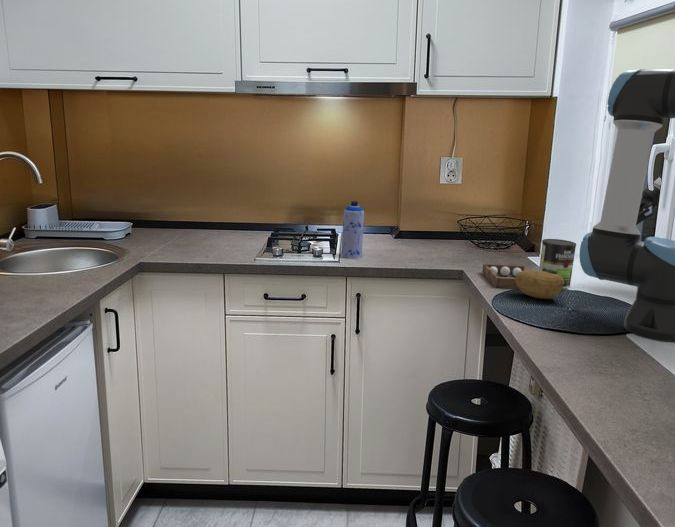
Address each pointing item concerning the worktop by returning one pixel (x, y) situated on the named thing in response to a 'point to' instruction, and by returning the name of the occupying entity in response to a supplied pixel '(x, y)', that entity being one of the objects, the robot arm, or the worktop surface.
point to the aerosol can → (352, 231)
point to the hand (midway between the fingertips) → (599, 243)
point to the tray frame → (501, 281)
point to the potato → (539, 284)
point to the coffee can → (558, 258)
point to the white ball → (516, 271)
